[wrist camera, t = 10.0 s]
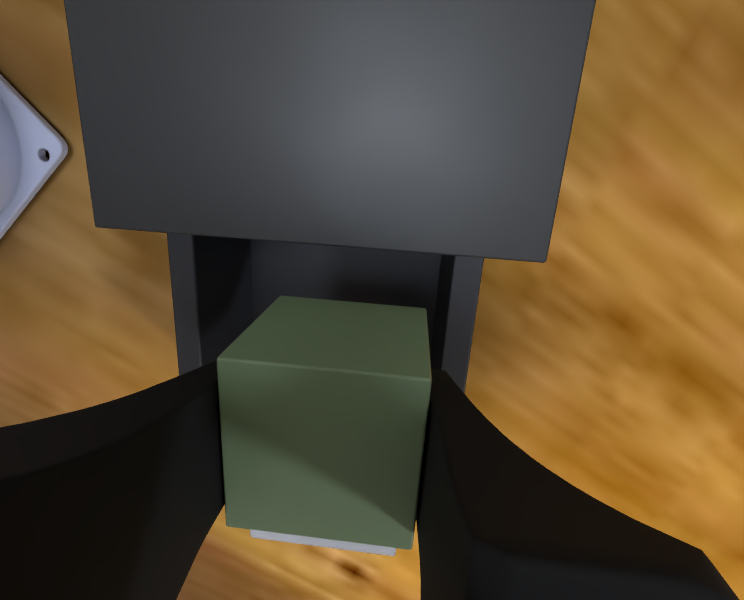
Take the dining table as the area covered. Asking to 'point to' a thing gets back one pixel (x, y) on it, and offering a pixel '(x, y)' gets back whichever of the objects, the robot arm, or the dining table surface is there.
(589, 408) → the dining table surface
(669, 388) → the dining table surface
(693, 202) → the dining table surface
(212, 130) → the black drawer box
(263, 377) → the block
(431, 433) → the robot arm
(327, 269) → the pull-out drawer
